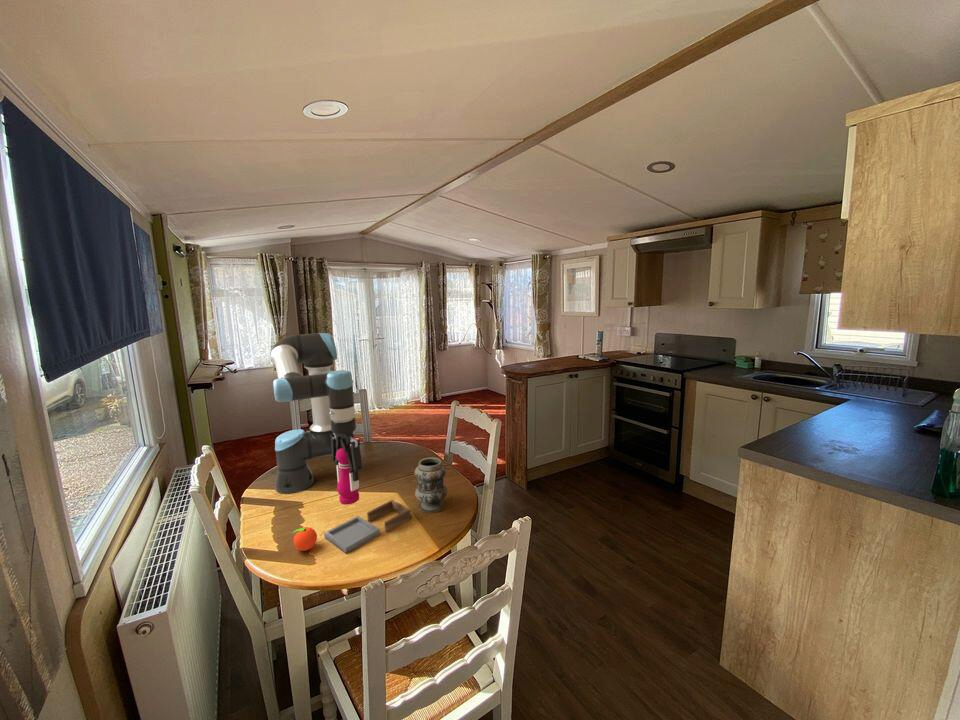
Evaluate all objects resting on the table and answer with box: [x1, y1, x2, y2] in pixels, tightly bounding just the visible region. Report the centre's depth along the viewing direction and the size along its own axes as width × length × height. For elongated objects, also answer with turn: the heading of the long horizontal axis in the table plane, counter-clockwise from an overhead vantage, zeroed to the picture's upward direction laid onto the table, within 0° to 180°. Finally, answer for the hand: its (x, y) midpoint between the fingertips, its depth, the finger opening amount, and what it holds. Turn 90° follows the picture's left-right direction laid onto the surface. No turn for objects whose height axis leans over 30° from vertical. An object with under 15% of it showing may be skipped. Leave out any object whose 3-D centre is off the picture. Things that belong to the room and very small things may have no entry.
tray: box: [323, 515, 381, 554], centre depth 134 cm, size 13×13×2 cm
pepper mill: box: [336, 447, 361, 506], centre depth 131 cm, size 7×7×20 cm
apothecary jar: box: [414, 457, 448, 514], centre depth 151 cm, size 12×12×18 cm
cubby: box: [366, 499, 412, 533], centre depth 144 cm, size 11×11×4 cm
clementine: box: [291, 526, 318, 552], centre depth 128 cm, size 8×7×7 cm
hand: (348, 485), depth 131 cm, fingers closed on pepper mill, 7 cm apart
